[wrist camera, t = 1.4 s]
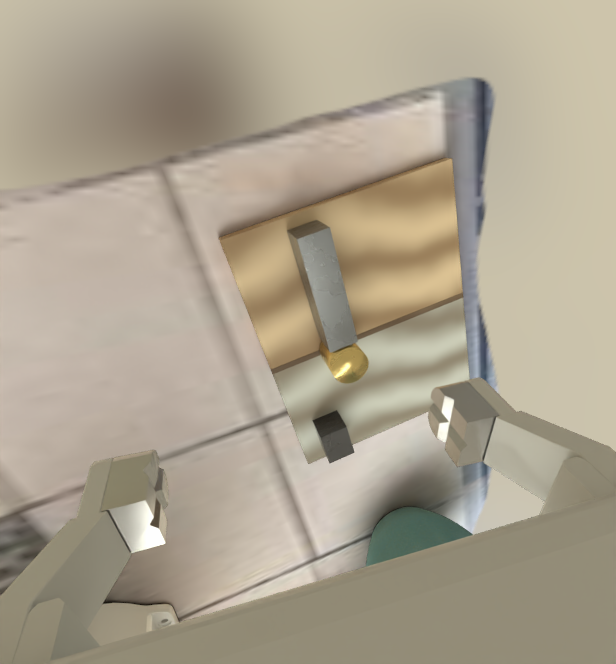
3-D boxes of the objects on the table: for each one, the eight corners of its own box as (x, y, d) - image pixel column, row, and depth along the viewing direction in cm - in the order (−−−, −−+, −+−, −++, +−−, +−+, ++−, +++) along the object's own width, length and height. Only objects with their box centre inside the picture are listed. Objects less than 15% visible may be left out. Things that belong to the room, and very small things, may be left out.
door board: (464, 387, 50) (470, 393, 49) (305, 457, 47) (308, 464, 46) (444, 157, 36) (452, 158, 35) (218, 237, 34) (219, 240, 32)
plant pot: (467, 516, 63) (526, 592, 52) (378, 583, 64) (417, 670, 53) (421, 460, 54) (480, 538, 43) (317, 539, 55) (350, 634, 44)
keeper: (344, 434, 46) (354, 452, 43) (321, 445, 45) (329, 463, 43) (336, 410, 44) (346, 426, 41) (312, 420, 44) (320, 438, 41)
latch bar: (355, 355, 41) (371, 374, 38) (324, 368, 41) (337, 389, 37) (320, 218, 34) (336, 226, 30) (282, 232, 33) (293, 242, 30)
